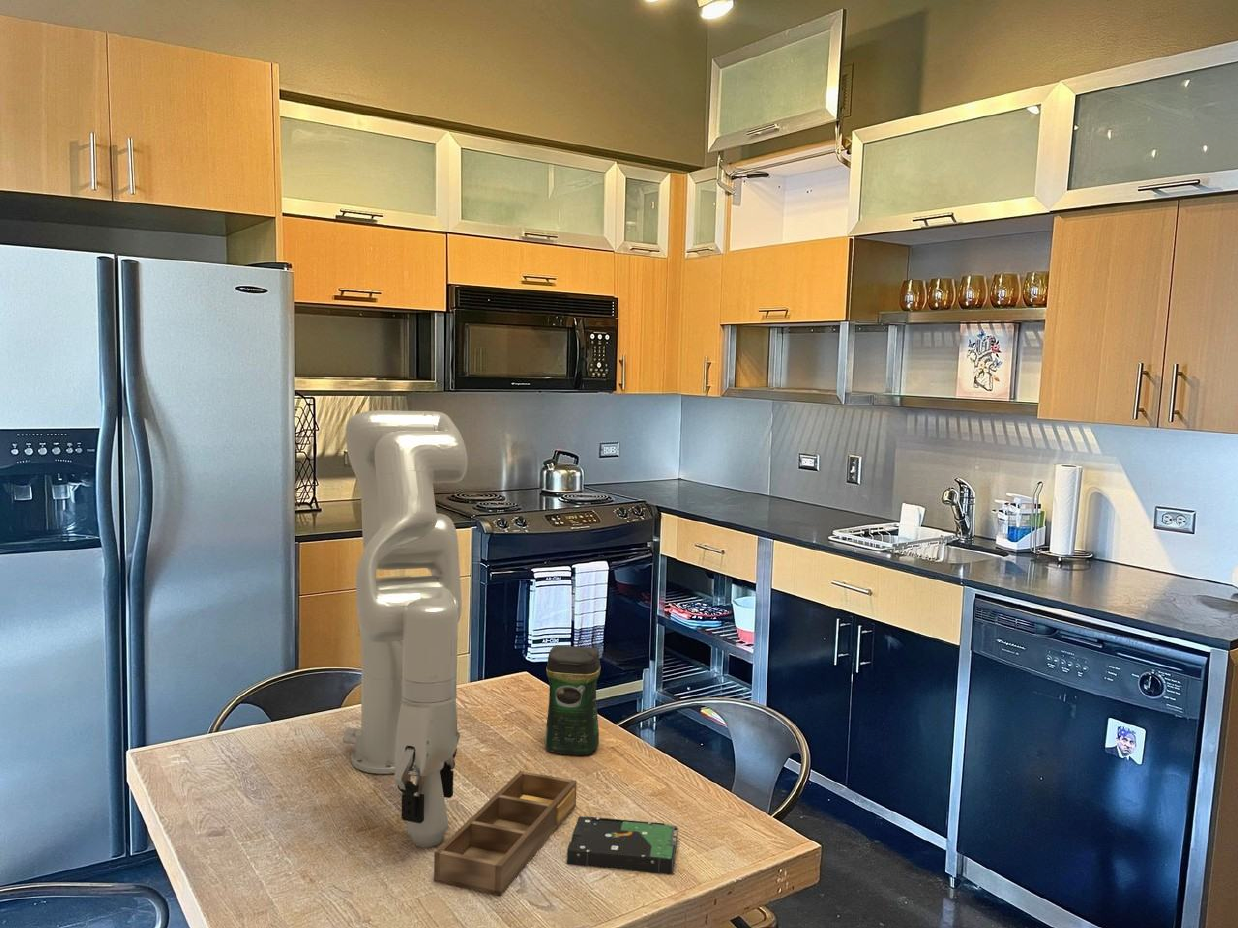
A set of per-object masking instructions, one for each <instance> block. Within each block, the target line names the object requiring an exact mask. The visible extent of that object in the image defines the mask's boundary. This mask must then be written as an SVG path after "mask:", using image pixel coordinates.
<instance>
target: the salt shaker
mask: <svg viewBox="0 0 1238 928" xmlns="http://www.w3.org/2000/svg"><path fill="white" fill-rule="evenodd" d="M443 766H444V762H441V763H440V766H439V767H438V768H436V769H435V770H434V771H432V772H431V773H429V774H428V775H426V777H425V781H424V785H423V789H422V792H421V794H424V821H423V822H422V823H415V822H410V821H406V827H407V832H408V834H409V836H410V837H411V840H412V841H413V843H414V845H415V847H418V848H419V847H420V848H427V849H428V848H431V847H435V846H438V845H440V844H441V841H442V839H443V837H444V836H445V834H446V832H447V830H448V828H449V819H448V814H447V813H448V812H447V807H446V801H445V797H444V794H443V788H442V782H441V775H440V770H441V769H442V768H443ZM413 771H418V772H420V768H417V767H414V768H413ZM417 779H418V777H416V776H415V780H414V785H415V786H416V783H417Z"/></svg>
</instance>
